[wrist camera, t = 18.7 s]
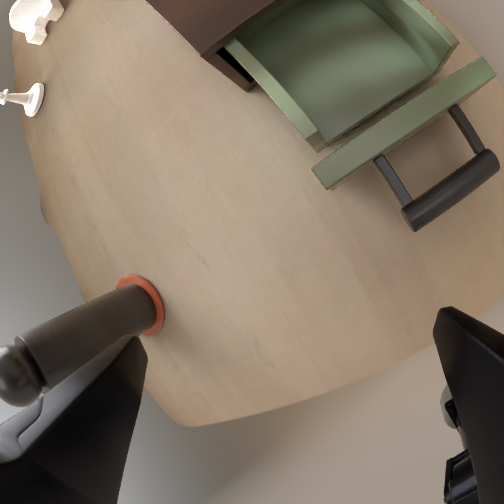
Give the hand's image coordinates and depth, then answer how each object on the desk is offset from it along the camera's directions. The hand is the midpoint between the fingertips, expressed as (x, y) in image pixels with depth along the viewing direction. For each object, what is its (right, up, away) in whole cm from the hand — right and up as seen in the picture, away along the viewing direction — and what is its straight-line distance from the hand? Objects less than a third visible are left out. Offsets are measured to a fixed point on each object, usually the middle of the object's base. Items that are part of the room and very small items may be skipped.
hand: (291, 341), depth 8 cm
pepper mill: (-12, -3, +17) cm, 21 cm away
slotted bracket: (-35, +41, +16) cm, 57 cm away
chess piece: (-31, +24, +19) cm, 43 cm away
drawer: (+6, +13, +7) cm, 16 cm away
